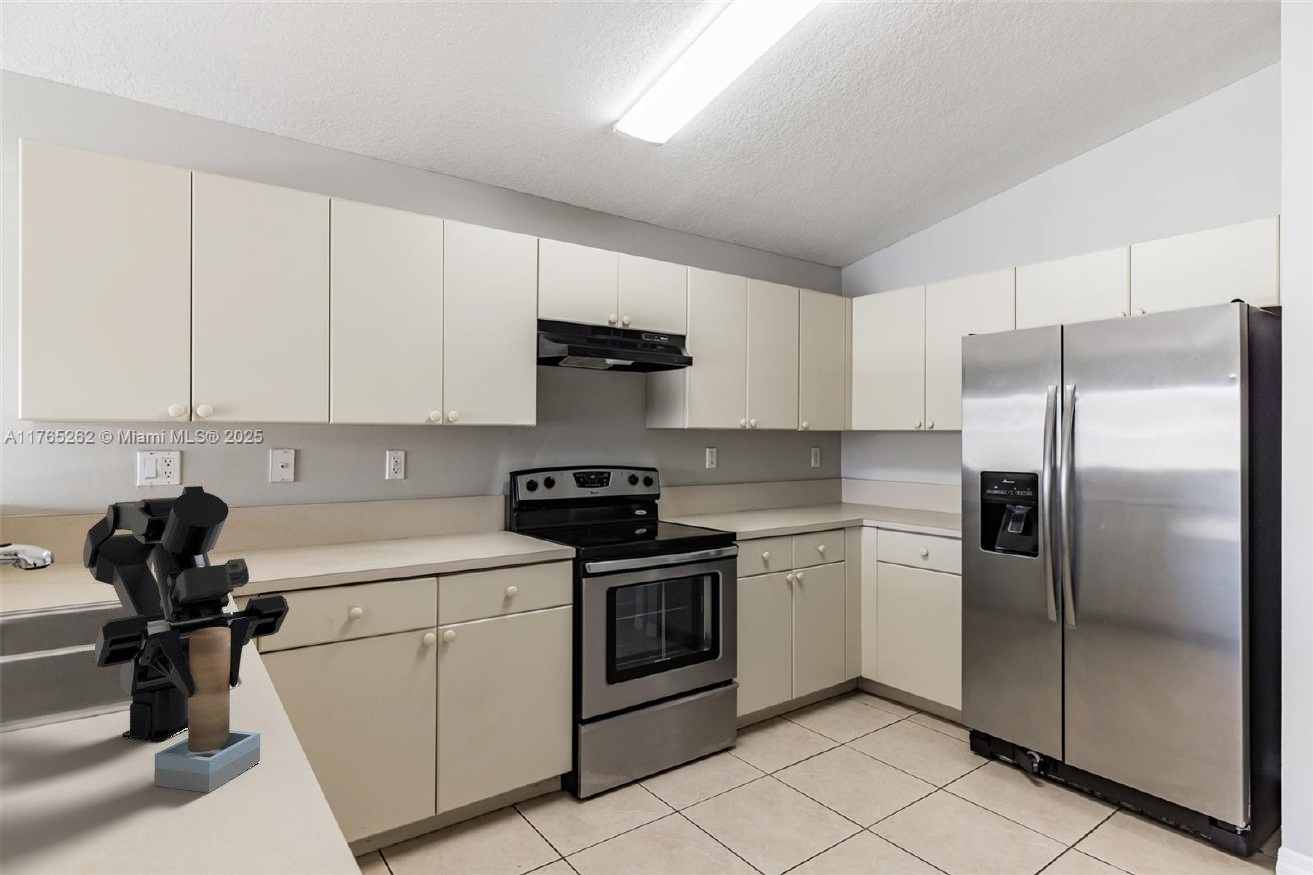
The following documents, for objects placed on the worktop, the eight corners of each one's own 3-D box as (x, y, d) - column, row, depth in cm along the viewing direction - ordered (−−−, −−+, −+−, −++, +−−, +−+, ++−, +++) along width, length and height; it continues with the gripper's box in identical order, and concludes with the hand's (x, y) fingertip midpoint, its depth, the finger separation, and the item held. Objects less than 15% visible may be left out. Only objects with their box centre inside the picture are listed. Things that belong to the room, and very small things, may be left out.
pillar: (192, 740, 81) (193, 628, 81) (232, 734, 82) (233, 625, 82) (184, 754, 77) (185, 638, 77) (225, 749, 79) (226, 634, 79)
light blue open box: (208, 756, 84) (209, 727, 84) (259, 762, 82) (260, 733, 82) (154, 785, 77) (154, 754, 77) (209, 793, 75) (209, 760, 75)
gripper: (101, 547, 75) (123, 672, 68) (284, 531, 89) (319, 633, 82) (86, 607, 81) (105, 729, 73) (261, 582, 95) (292, 683, 87)
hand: (213, 690), depth 79 cm, fingers closed on pillar, 4 cm apart
